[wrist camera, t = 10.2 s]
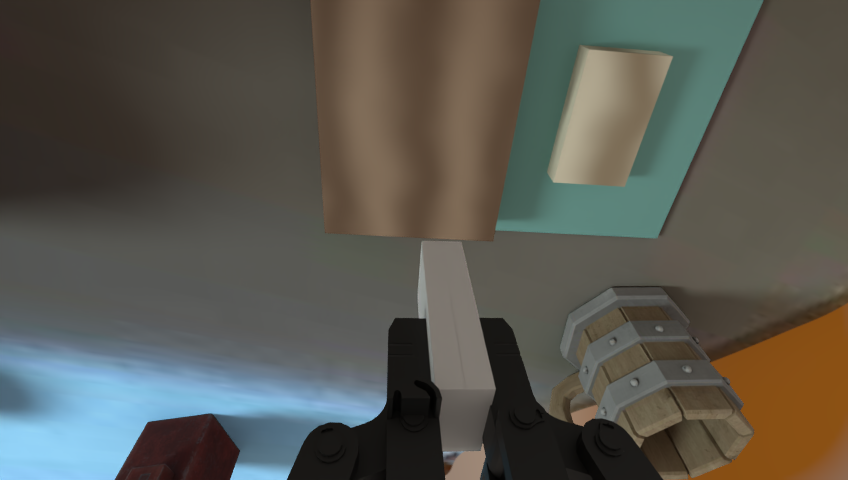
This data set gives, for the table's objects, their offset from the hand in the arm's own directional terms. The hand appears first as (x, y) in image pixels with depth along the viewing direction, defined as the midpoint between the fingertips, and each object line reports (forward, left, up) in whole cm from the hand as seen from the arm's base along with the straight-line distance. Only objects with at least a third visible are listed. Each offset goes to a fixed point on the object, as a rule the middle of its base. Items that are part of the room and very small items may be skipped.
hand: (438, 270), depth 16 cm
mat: (+15, +1, -20) cm, 25 cm away
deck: (-1, +1, -21) cm, 21 cm away
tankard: (+21, -25, -21) cm, 39 cm away
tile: (+14, +1, -18) cm, 23 cm away
